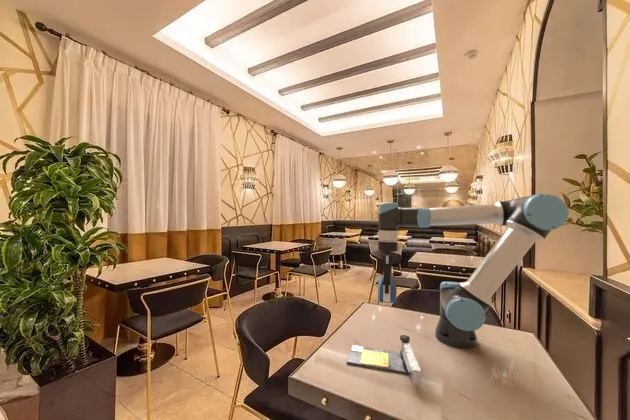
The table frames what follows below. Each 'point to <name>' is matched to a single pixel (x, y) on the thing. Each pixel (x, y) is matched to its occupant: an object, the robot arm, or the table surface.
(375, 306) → the table surface
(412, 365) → the swing arm
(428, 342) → the table surface
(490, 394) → the table surface
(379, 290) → the perfume bottle
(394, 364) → the tray
